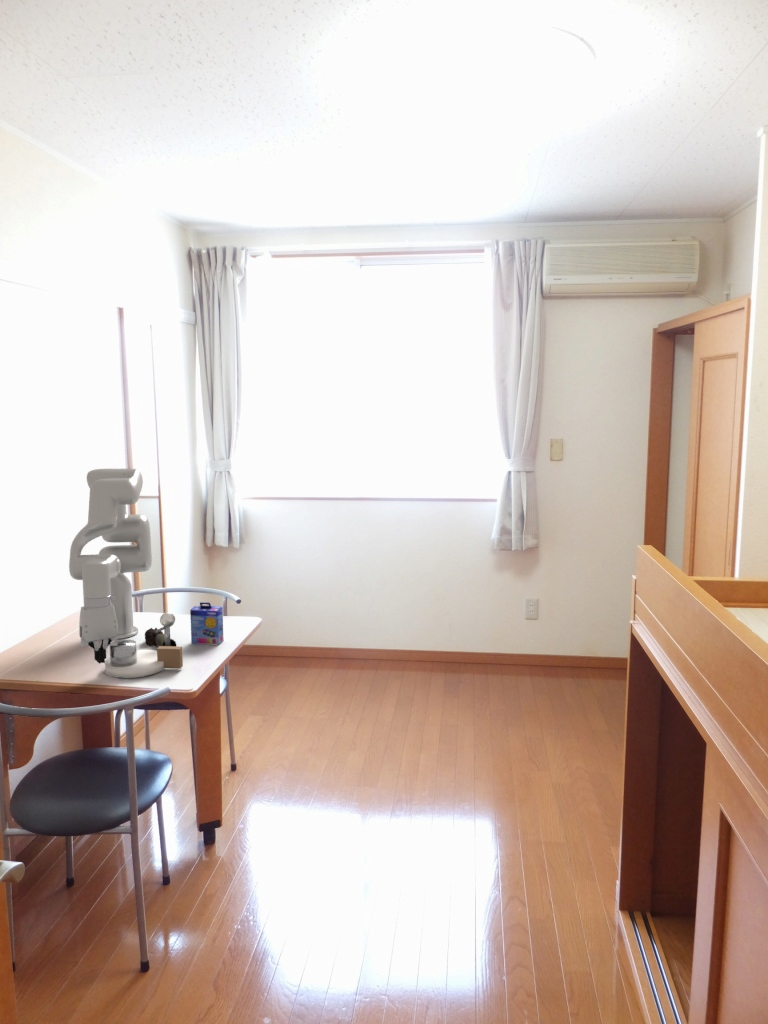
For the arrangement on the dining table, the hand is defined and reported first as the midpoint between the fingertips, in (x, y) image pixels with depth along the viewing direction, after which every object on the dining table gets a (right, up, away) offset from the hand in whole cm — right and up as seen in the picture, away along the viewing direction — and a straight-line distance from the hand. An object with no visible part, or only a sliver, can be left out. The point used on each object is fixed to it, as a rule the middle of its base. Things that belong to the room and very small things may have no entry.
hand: (100, 661), depth 219 cm
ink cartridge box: (+24, 0, +33) cm, 40 cm away
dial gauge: (+13, -2, +20) cm, 24 cm away
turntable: (+11, -3, +7) cm, 13 cm away
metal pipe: (+9, -1, +29) cm, 30 cm away
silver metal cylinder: (+6, -1, +4) cm, 7 cm away
